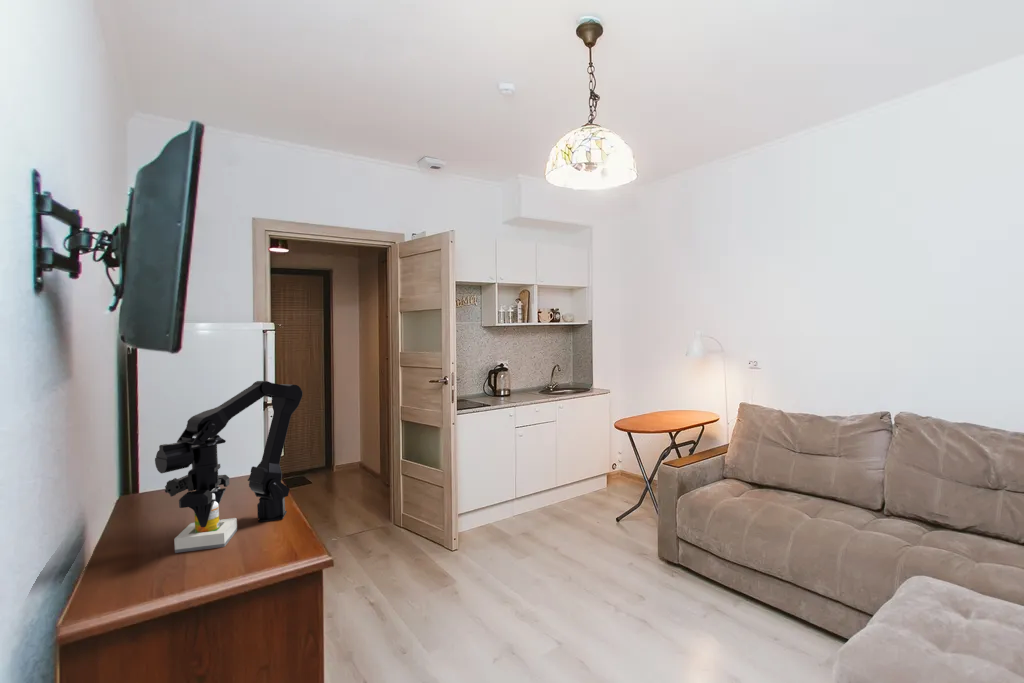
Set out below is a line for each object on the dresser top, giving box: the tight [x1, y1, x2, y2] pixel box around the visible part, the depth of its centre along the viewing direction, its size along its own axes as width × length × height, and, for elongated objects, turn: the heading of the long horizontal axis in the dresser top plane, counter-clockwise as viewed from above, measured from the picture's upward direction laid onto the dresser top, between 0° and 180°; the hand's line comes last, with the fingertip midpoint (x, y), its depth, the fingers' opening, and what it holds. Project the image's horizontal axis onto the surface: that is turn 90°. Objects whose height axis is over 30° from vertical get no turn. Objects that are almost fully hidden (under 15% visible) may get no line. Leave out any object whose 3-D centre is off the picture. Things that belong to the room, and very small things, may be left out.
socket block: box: [174, 517, 238, 554], centre depth 127 cm, size 11×11×4 cm
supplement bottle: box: [193, 493, 220, 533], centre depth 127 cm, size 5×5×10 cm
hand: (207, 522), depth 128 cm, fingers closed on supplement bottle, 5 cm apart
